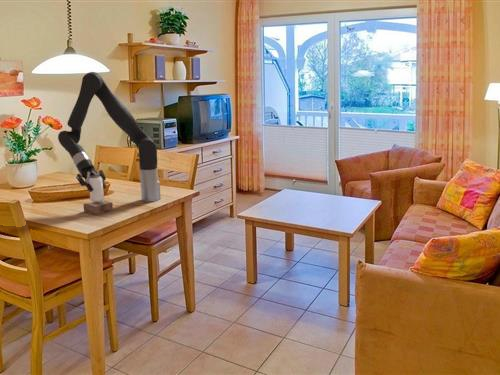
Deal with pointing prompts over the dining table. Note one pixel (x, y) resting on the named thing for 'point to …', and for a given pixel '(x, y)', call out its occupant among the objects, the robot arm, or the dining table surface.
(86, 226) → the dining table surface
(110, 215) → the dining table surface
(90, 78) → the robot arm
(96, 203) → the pedestal
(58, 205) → the dining table surface
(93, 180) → the can
